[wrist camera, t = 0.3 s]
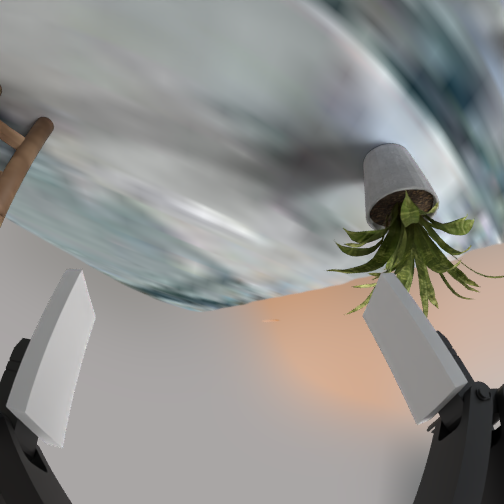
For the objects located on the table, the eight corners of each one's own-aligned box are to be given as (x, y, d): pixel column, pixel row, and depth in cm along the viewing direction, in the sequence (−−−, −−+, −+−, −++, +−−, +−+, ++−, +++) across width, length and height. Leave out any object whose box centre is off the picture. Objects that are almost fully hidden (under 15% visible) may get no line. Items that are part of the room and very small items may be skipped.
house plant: (422, 67, 16) (531, 255, 8) (470, 162, 24) (523, 306, 16) (294, 151, 26) (305, 331, 18) (370, 212, 34) (391, 348, 26)
